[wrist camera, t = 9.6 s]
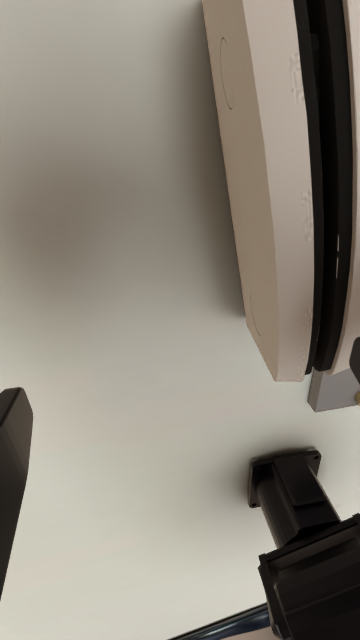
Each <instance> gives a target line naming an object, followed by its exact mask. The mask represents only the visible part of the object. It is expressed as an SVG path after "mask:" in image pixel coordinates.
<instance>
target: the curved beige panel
mask: <svg viewBox="0 0 360 640" xmlns="http://www.w3.org/2000/svg"><path fill="white" fill-rule="evenodd" d="M202 5H203V12H204V19H205V27H206V34H207V41H208V48H209V56H210V63H211V70H212V77H213V84H214V92H215V99H216V106H217V113H218V120H219V128H220V135H221V142H222V149H223V156H224V164H225V171H226V178H227V185H228V192H229V200H230V207H231V214H232V221H233V228H234V236H235V243H236V250H237V257H238V265H239V272H240V279H241V286H242V293H243V301H244V308H245V315H246V322H247V326H248V328H249V330H250V332H251V334H252V336H253V338H254V340H255V342H256V344H257V346H258V348H259V350H260V352H261V355H262V357H263V359H264V361H265V363H266V365H267V367H268V369H269V371H270V373H271V375H272V377H273V379H274V380H275V381H293V382H301V381H303V380H304V375H307V374H310V373H311V371H312V367H314V369H315V370H317V371H318V372H321V371H324V372H325V373H326V374H327V375H333V374H336V373H338V372H341V371H343V370H346V369H348V368H350V366H349V358H350V354H351V350H352V346H353V342H354V340H355V339H356V338H357V337H360V0H202Z"/></svg>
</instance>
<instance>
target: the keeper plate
mask: <svg viewBox="0 0 360 640" xmlns="http://www.w3.org/2000/svg"><path fill="white" fill-rule="evenodd" d="M308 403H309V404H310V406H311V407H312V409H313V410H314V412H321V411H326V410H332V409H338V408H344V407H350V406H355V405H359V406H360V385H359V383H358V381H357V379H356V378H355V376H354V374H353V372H352V371H351V369H350V368H348V369H346V370H343V371H341V372H338V373H336V374H333V375H327V374H326V373H325V372H324V371H321V372H318V371H317V370H315V369H314V371H313V377H312V382H311V387H310V393H309V398H308Z"/></svg>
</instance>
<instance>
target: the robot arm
mask: <svg viewBox="0 0 360 640" xmlns="http://www.w3.org/2000/svg"><path fill="white" fill-rule="evenodd" d="M349 366H350V369H351V371H352V372H353V374H354V376H355V378H356V379H357V381H358V383H359V385H360V337H357V338H356V339H355V340H354V342H353V346H352V350H351V354H350V358H349ZM32 426H33V412H32V409H31V406H30V403H29V401H28V398H27V395H26V393H25V390H24V389H23V388H21V387H16V388H9V389H5V390H3V391H2V392H1V393H0V600H1V595H2V591H3V586H4V582H5V577H6V573H7V568H8V563H9V559H10V554H11V550H12V545H13V541H14V536H15V531H16V527H17V522H18V518H19V513H20V509H21V504H22V499H23V495H24V490H25V486H26V480H27V475H28V467H29V457H30V446H31V436H32ZM320 460H321V454H320V453H319V451H317V450H314V451H309V452H303V453H298V454H293V455H287V456H282V457H277V458H271V459H266V460H261V461H256V462H253V463H252V464H251V470H250V482H249V494H248V504H249V507H250V508H256V507H261V508H262V511H263V513H264V516H265V519H266V521H267V524H268V526H269V529H270V532H271V534H272V537H273V539H274V542H275V545H276V547H277V549H276V550H274V551H272V552H269V553H267V554H265V553H264V554H261V555H259V560H260V566H259V567H258V570H259V573H260V576H261V579H262V582H263V586H264V589H265V593H266V598H267V604H268V610H269V616H270V622H271V627H272V631H273V633H274V635H275V636H276V637H277V638H279V639H280V640H360V514H359V513H357V514H355V515H352V516H353V517H351V518H349V519H347V520H344V521H341V519H340V517H339V516H338V514H337V512H336V510H335V509H334V507H333V505H332V503H331V502H330V500H329V498H328V496H327V495H326V493H325V491H324V489H323V488H322V486H321V484H320V482H319V481H318V479H317V473H318V468H319V464H320Z"/></svg>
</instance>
